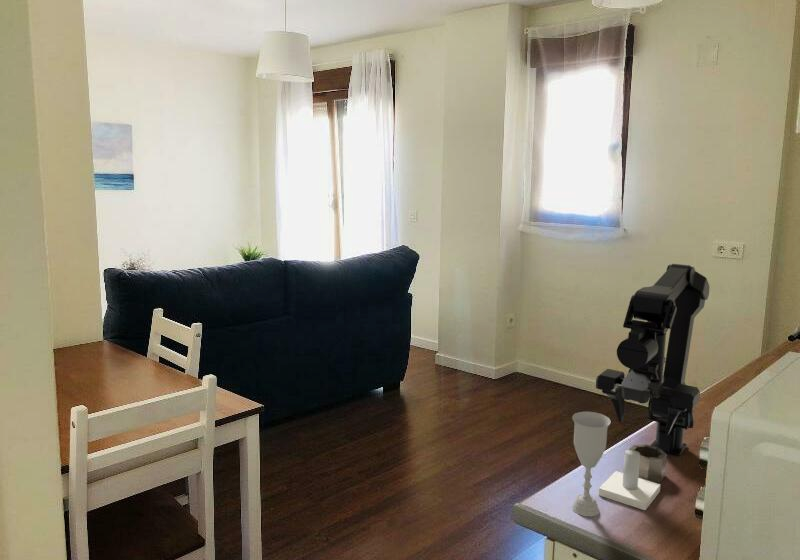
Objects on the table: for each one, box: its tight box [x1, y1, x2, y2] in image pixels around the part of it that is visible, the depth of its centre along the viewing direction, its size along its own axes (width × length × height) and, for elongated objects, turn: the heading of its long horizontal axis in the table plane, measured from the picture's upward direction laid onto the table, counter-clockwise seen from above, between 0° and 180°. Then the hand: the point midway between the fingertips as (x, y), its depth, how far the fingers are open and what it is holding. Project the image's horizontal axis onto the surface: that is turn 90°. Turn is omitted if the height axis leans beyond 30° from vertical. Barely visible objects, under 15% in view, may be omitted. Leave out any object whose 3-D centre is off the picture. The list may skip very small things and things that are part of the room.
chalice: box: [571, 411, 611, 517], centre depth 120 cm, size 7×7×18 cm
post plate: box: [598, 449, 662, 511], centre depth 127 cm, size 9×9×8 cm
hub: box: [628, 444, 668, 483], centre depth 135 cm, size 7×7×5 cm
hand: (643, 428), depth 130 cm, fingers open, 9 cm apart
